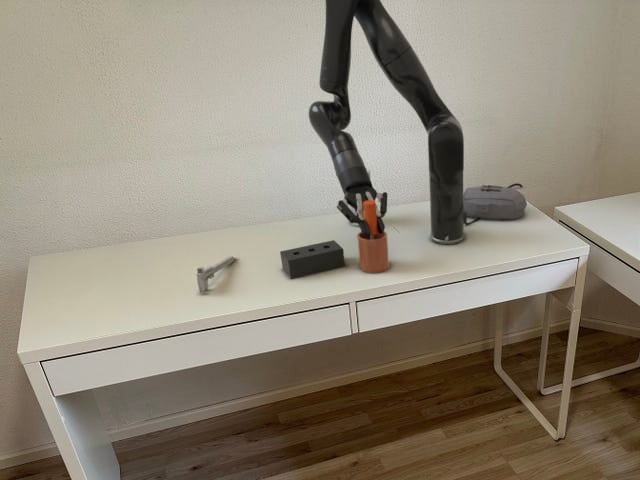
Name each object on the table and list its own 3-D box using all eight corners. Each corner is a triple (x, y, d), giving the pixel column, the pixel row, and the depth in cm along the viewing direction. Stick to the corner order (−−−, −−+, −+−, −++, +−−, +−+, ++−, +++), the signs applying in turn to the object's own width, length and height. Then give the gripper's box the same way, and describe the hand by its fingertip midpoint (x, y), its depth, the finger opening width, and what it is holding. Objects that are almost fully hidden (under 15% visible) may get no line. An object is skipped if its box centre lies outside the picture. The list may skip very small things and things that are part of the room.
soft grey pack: (458, 220, 204) (524, 224, 202) (458, 193, 199) (526, 197, 197) (466, 203, 216) (528, 206, 214) (466, 177, 212) (529, 180, 210)
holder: (282, 269, 174) (279, 251, 171) (335, 257, 181) (333, 240, 178) (290, 278, 169) (288, 260, 167) (345, 266, 176) (343, 248, 173)
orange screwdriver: (372, 255, 176) (367, 199, 168) (382, 257, 175) (377, 201, 167) (366, 259, 174) (360, 203, 166) (376, 261, 173) (371, 205, 165)
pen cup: (369, 259, 180) (367, 227, 175) (394, 264, 177) (392, 231, 172) (354, 270, 174) (351, 237, 169) (379, 275, 172) (377, 242, 167)
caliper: (204, 294, 162) (199, 271, 158) (200, 294, 162) (194, 270, 159) (235, 259, 179) (231, 237, 176) (231, 259, 179) (227, 236, 176)
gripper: (327, 169, 165) (352, 233, 163) (380, 160, 171) (404, 222, 169) (322, 184, 171) (346, 246, 169) (373, 175, 177) (396, 234, 175)
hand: (375, 233), depth 169 cm, fingers closed on orange screwdriver, 3 cm apart
